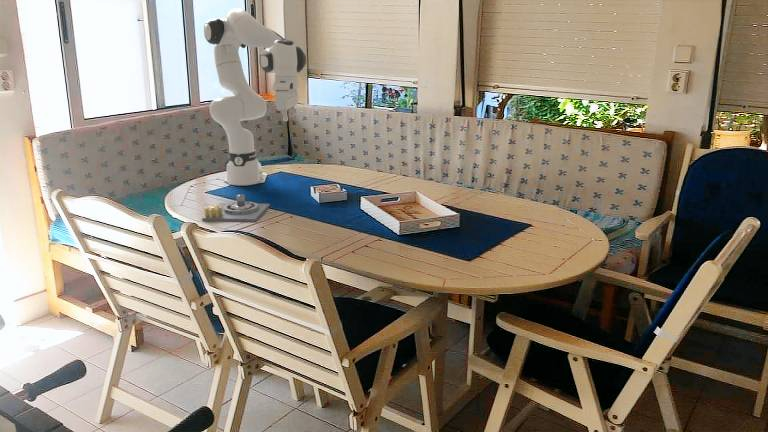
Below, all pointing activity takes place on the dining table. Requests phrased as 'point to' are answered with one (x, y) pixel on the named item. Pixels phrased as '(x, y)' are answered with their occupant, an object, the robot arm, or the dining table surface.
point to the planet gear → (240, 203)
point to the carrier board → (234, 212)
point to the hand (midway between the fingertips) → (288, 119)
